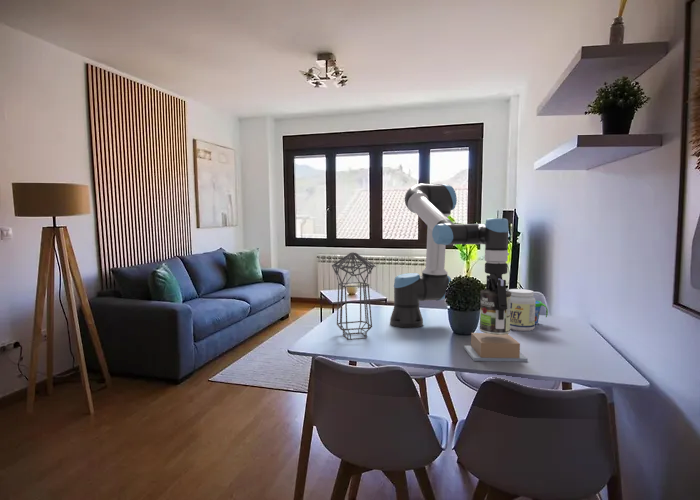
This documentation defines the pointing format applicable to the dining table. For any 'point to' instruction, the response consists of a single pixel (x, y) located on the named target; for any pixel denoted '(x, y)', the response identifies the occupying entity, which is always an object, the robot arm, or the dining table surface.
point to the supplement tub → (522, 310)
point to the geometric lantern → (353, 286)
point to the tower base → (494, 348)
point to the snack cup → (537, 310)
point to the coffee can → (493, 313)
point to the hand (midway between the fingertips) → (494, 324)
